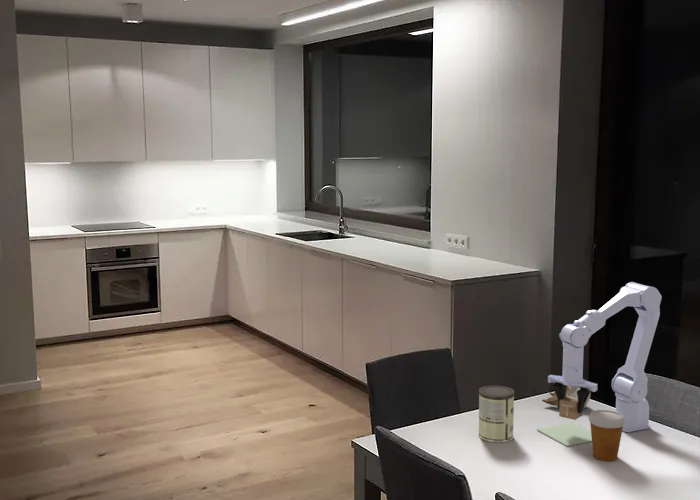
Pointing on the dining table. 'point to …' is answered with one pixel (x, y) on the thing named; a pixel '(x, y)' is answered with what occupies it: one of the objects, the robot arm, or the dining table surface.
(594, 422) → the disposable coffee cup
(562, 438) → the mat
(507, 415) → the coffee can
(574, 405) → the letter cube
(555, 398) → the ceramic sculpture
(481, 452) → the dining table surface
